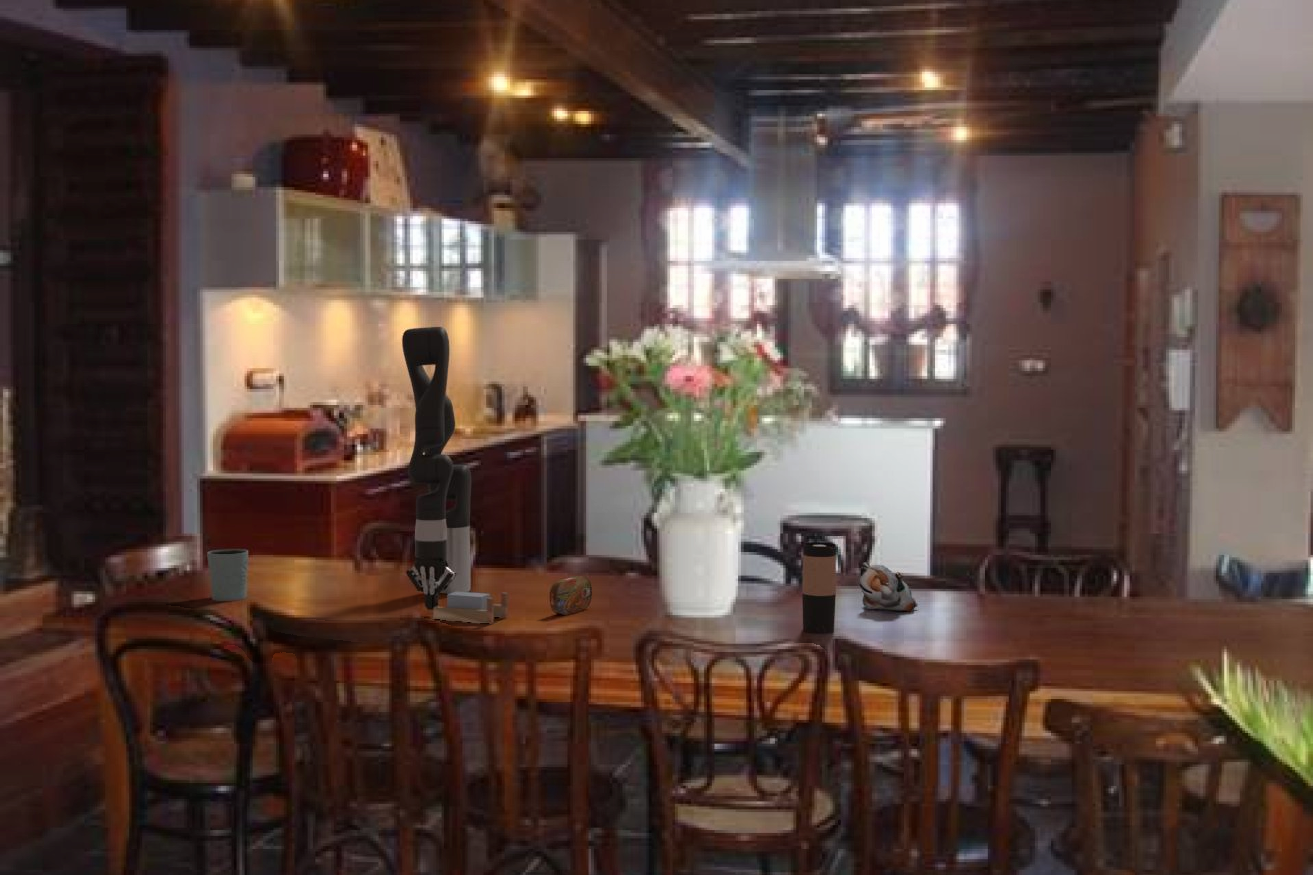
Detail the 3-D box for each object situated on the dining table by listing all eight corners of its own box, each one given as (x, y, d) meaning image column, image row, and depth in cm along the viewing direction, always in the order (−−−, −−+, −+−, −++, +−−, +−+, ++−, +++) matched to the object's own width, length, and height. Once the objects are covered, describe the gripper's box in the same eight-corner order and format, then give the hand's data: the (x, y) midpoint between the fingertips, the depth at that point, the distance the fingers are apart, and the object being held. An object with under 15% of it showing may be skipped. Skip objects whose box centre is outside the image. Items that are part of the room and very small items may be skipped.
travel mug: (799, 627, 357) (800, 541, 355) (831, 626, 357) (832, 541, 356) (805, 633, 349) (806, 546, 348) (838, 633, 350) (839, 546, 348)
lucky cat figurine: (925, 611, 377) (913, 565, 371) (882, 632, 375) (869, 586, 369) (898, 584, 390) (885, 540, 384) (856, 604, 388) (843, 560, 382)
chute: (451, 613, 371) (451, 588, 371) (508, 617, 366) (508, 592, 366) (433, 619, 363) (433, 594, 363) (491, 624, 358) (491, 598, 357)
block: (456, 616, 368) (456, 591, 368) (490, 618, 365) (489, 593, 365) (447, 619, 364) (447, 594, 364) (481, 622, 361) (481, 596, 361)
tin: (557, 617, 367) (557, 582, 366) (546, 616, 369) (547, 581, 368) (593, 607, 380) (593, 574, 379) (582, 606, 382) (582, 573, 381)
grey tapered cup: (237, 602, 384) (236, 554, 383) (200, 600, 386) (199, 553, 385) (255, 595, 394) (255, 549, 393) (219, 593, 396) (218, 547, 395)
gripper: (463, 537, 368) (463, 608, 369) (414, 534, 373) (414, 604, 374) (448, 541, 361) (448, 614, 362) (398, 538, 366) (399, 610, 367)
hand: (431, 609), depth 368 cm, fingers closed
